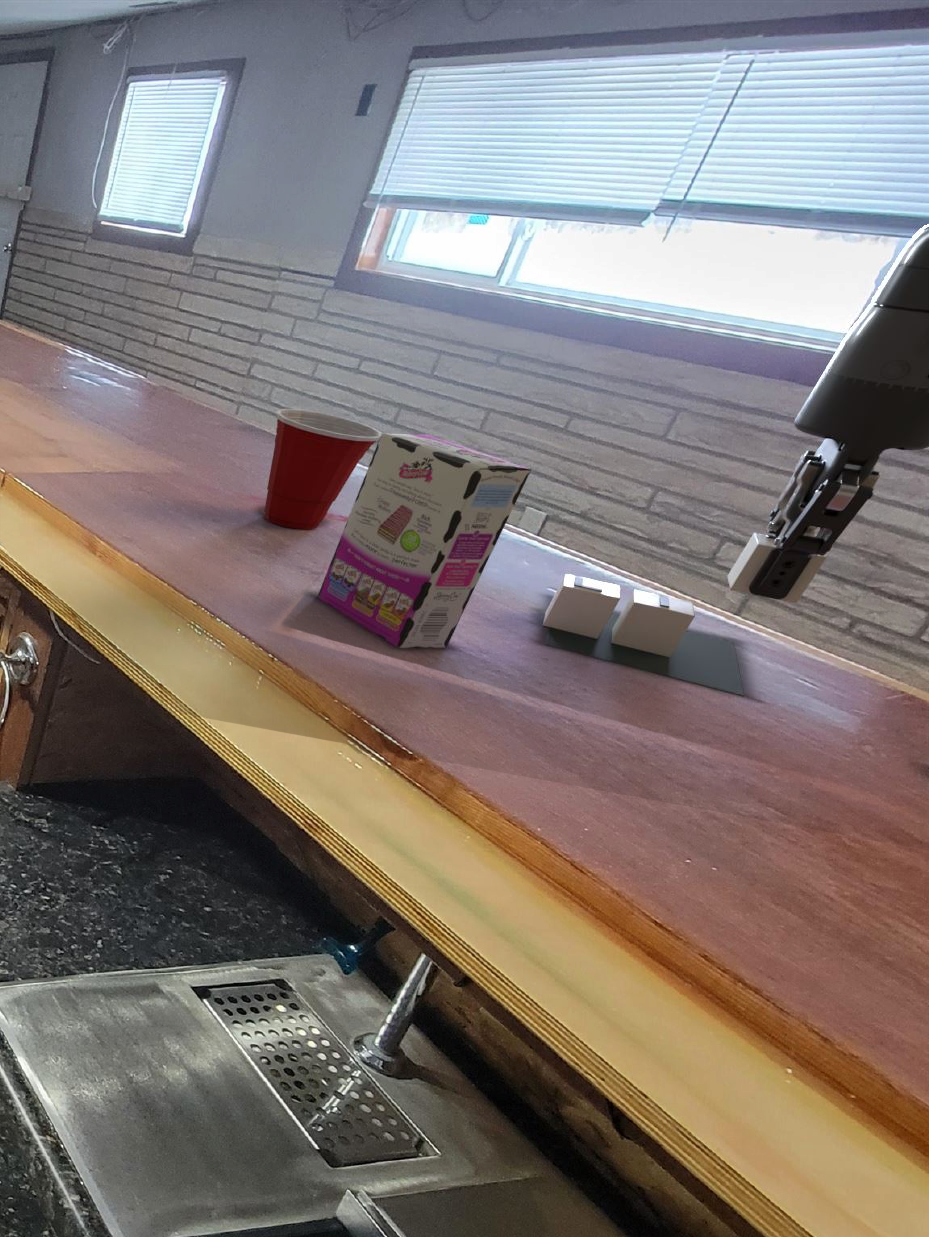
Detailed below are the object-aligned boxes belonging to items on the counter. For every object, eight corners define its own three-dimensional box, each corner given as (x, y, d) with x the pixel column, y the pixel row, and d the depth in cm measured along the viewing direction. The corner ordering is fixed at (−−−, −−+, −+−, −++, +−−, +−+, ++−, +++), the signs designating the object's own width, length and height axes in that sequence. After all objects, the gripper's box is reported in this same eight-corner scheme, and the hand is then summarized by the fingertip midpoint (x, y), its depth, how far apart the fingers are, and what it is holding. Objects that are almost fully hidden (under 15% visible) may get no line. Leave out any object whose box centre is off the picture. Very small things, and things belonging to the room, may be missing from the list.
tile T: (791, 590, 81) (821, 543, 79) (796, 603, 79) (828, 556, 77) (726, 576, 83) (755, 530, 81) (729, 589, 81) (758, 542, 79)
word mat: (730, 647, 89) (734, 641, 88) (740, 702, 79) (744, 696, 79) (552, 604, 96) (555, 599, 95) (542, 650, 86) (545, 644, 86)
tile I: (668, 643, 87) (694, 601, 85) (669, 657, 85) (695, 614, 83) (612, 629, 90) (635, 588, 88) (611, 642, 87) (635, 600, 85)
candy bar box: (448, 653, 85) (537, 468, 77) (396, 653, 85) (480, 468, 76) (359, 600, 95) (429, 431, 87) (312, 600, 94) (378, 430, 86)
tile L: (599, 625, 90) (621, 584, 88) (597, 639, 87) (621, 597, 85) (545, 612, 92) (566, 572, 90) (542, 625, 90) (564, 584, 88)
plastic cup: (355, 543, 109) (398, 436, 103) (249, 529, 112) (285, 424, 106) (333, 514, 118) (372, 414, 112) (236, 501, 121) (268, 403, 115)
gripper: (997, 398, 66) (837, 628, 74) (951, 371, 75) (814, 577, 84) (840, 379, 70) (705, 599, 78) (816, 355, 79) (698, 554, 88)
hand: (762, 586), depth 81 cm, fingers closed on tile T, 4 cm apart
